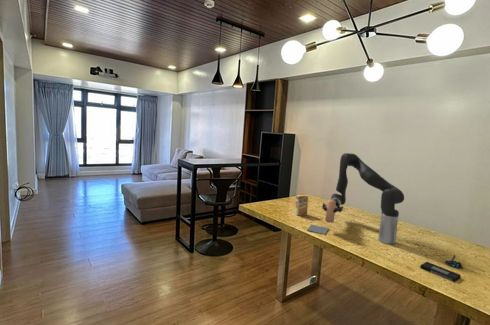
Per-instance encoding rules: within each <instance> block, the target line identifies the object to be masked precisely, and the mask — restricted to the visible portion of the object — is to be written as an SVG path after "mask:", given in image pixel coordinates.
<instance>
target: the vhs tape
mask: <svg viewBox="0 0 490 325" xmlns="http://www.w3.org/2000/svg"><path fill="white" fill-rule="evenodd" d="M419 268H420V269H421V270H423V271H427V272H428V273H430V274H431V273H432V274H434V275H435V276H438V277H441V278H443V279H445V280H448V281H451V282H453V283H455V282H457V281H458V280H459V279H461V276H462V275H461V274H460V273H457V272H454V271H452V270H449V269H446V268H444V267H443V266H439V265H437V264H435V263H432V262H429V261H426V262H423V263H421V264H420V267H419Z"/></svg>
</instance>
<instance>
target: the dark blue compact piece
mask: <svg viewBox="0 0 490 325" xmlns="http://www.w3.org/2000/svg"><path fill="white" fill-rule="evenodd" d="M455 259H456V254H453V256H452V258H451V259H450V260H447V259H446V260H444V262H445V264H447V265H448V266H450V267H453V268H456V269H458V270H459V269H462V268H463V265H462V263H461V262H460V261H456V260H455Z"/></svg>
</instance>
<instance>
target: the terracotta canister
mask: <svg viewBox="0 0 490 325" xmlns="http://www.w3.org/2000/svg"><path fill="white" fill-rule="evenodd" d="M326 205H327V209H326V211H325V221H324V222H326V223H331V224H332V223H334V222H335V214H336V213H334V209H335V206H336V201H335V200H331V199H327V200H326Z"/></svg>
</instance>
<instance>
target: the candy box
mask: <svg viewBox="0 0 490 325" xmlns="http://www.w3.org/2000/svg"><path fill="white" fill-rule="evenodd" d="M308 205H309V196H308V195H307V194H300V195H299V194H297V195H295V206H294V207H295V208H294V210H295V211H294V214H295V215H296V216H307V215H308V208H309V206H308Z"/></svg>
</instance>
